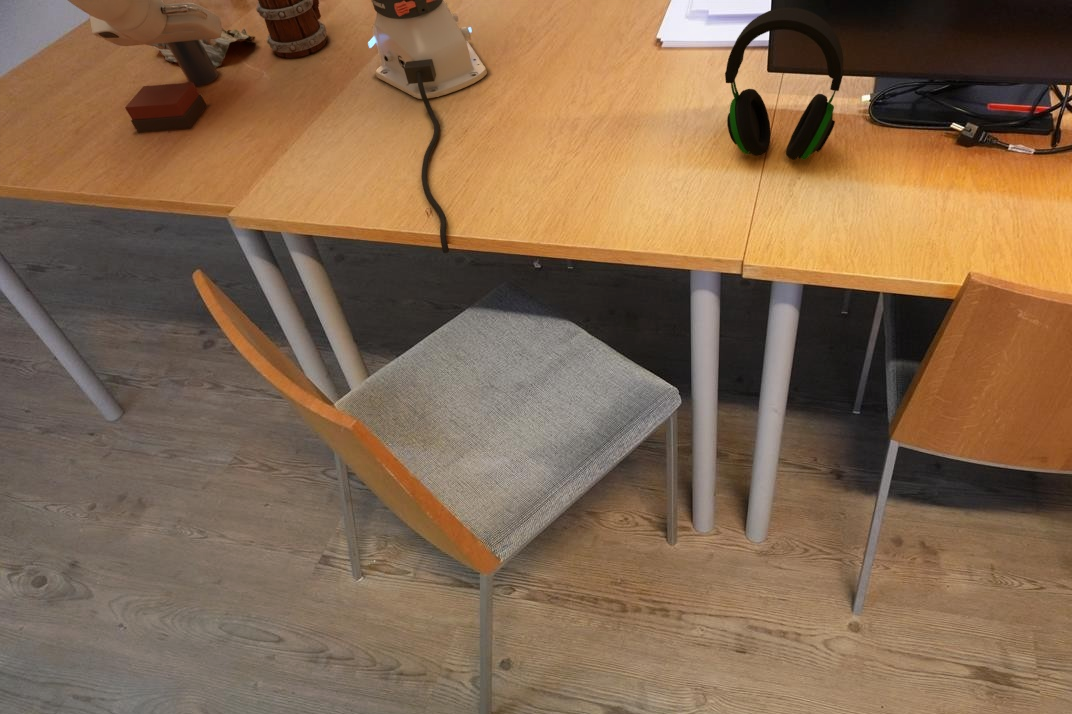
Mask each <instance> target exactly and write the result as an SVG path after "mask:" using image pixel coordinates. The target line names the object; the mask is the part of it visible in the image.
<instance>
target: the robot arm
mask: <svg viewBox="0 0 1072 714" xmlns="http://www.w3.org/2000/svg"><path fill="white" fill-rule="evenodd" d="M67 1H68V2H69V3H71V4H72V5H73V6H74V7H76V8H77V9H79V10H81V11H83V12H84V13H86V14H87V15H89V20H90V26H91V27H90V28H91V32H92V33H91V34H92V35H94V36H96V37H97V38H100V39H104V40H106V41H107V42H109V43H112V44H113V45H116V46H120V47H132V46H133V47H134V46H135V47H136V46H149V47H152V46H154V47H157V48H158V49H168V45H167V44H166V43H170V42H181V41H193V40H203V43H204V44H206V45H215V44H216V43H215V39H217V38H220V37H221V34H222V28H223V26H222V19H221V17H220V16H219V15H217V14H216V13H215V12H213V11H211V10H209V9H207V8H206V7H204V6H202V5H199V4H197V3H193V2H178V3H177V2H176V3H167V4H166V3H165V2H164V0H67ZM370 2H371V3H372V6H373V9H374V11H375V13H376V14H375V15H376V18H375V19H374V23H373V25H372V27H371V29H372V34H373V36H372V38H371V39H370V40H369V41H368V42H367V45H368V48H369V49H371V48H373V46H374V45H376V49H377V52H378V53H377V54H378V57H379V60H380V65H379V67H377V68H376V70H375V75H376V78H377V79H379V80H381V81H383V82H385V83H387V84H389V85H391V86H392V87H395V88H397V89H399V90H400V91H402V92H404V93H406V94H408V95H410V96H412V97H414V98H415V99H418V100H422V102H423V104H424V106H425V109H426V113H427V114H428V116H429V119H430V120H431V122H432V124H433V135H432V138H431V140H430V141H429V145H427V148H426V150H425V152H424V155H423V160H422V165H421V184H422V190H423V192H424V196H425V197H426V199H427V201H428V202H429V204H430V205H431V207H432V208H433V209H434V212H436V214H437V216H438V218H439V222H440V227H439V239H440V245H441V250H442V253H444V254H447V253H449V252H450V249H449V244H448V236H447V230H448V222H447V217H446V214H445V212H444V210H443V208H442V207H441V206H440V204H439V203H438V201H437V200H436V199H435V196H433V194H432V191H431V189H430V186H429V179H428V178H429V177H428V174H429V165H430V160H431V156H432V153H433V151H434V149H435V146H437V142H438V141H439V138H440V131H441V130H440V123H439V120H438V119H437V117H436V115H435V113H434V111H433V108H432V106H431V103H430V101H429V99H434V98H438V97H442V96H445V95H449V94H451V93H454V92H457V91H460V90H462V89H465V88H467V87H469V86H472V85H474V84H476V83H477V82H479V81H480V80H482V79H483V78H484V77H485V76H486V75H488V72H487V68H486V67H485V65H484V64H483V62H482V60H481V58H479V56H478V55H477V53H476V51H475V50H474V49H473V47H472V45H471V44H470V42H469V41H471V40H472V35H471V33H472V32H473V30H472V27H471V26H469V27H468V26H461V27H460V26H459V24H458V23H459V17H458V15H457V13H452V12H451V10H450V8H449V7H448V3H447V2H446V1H445V0H370ZM154 47H153V48H154ZM158 49H157V50H158Z"/></svg>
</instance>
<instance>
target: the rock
mask: <svg viewBox="0 0 1072 714" xmlns="http://www.w3.org/2000/svg"><path fill="white" fill-rule="evenodd" d="M200 41H201V43H202V45H203V46H204V48H205V50H206V52H207V54H208V56H209V57H210V59H211V61H212V63H213V65H214V67H215V68H216V69H218V68H219V67H221V66H222V65H223V64H222V62H223V61H224V59H225V57H226V54H227V52H228V49H229V46H230V44H231V43H234V42H238V41H239V42H244V41H245V42H246V43H256V36H253V35H248V33H247V31H246V29H245V28H243V29H242V30H241V31H239V30H237V29H232V30H231V29H228V30H225V29H224V28H223V27H222V34H221V37H220V38H217V39H215V43H216V44H215V45H206V44H204V43H203V40H200ZM151 47H152V48H155V49H156V50H158V51H160V53H161V54H162V55H163V56H164V59H165V60H166V61H168V62H170V63H173V62H174V63H177V64H178V62H177V61H176V59H175V57H174V56H173V54H172V52H171V50H170V49H169V47H168V49H158V48H157V47H154V46H151Z"/></svg>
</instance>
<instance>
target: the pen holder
mask: <svg viewBox="0 0 1072 714" xmlns="http://www.w3.org/2000/svg"><path fill="white" fill-rule="evenodd" d="M166 44H167V45H168V47H169V49H170V50H171V52H172V54H173V56H174V57H175V59H176V61H177V62H178V63H177V62H176V63H177V64H178V66H179V67H180V69H181V72H183V75H184V76H185V78H186V79H187V81H188V83H191V82H193V83H194V85H195V87H201V86H205V85H208V84H210V83H212V82H213V81H215V80H216V79H217V77H218V76H219V73H218V70H217V68H215V67H214V65H213V63H212V61H211V59H210V57H209V56H208V54H207V52H206V50H205V48H204V46H203V45H202V43H201V41H200V40H193V41H181V42H170V43H166Z"/></svg>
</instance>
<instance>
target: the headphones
mask: <svg viewBox="0 0 1072 714" xmlns="http://www.w3.org/2000/svg"><path fill="white" fill-rule="evenodd" d="M779 30H785V31H786V30H787V31H793V32H797V33H800V34H803V35H804V36H806V37H808V38H809V39H811V40H812V41H813V42H814V43H816V45H817V46H818V47H819V48H820V50H821V51H822V53H823V56H824V59H825V61H826V68H827V75H828V77H829V78H830V79H831V84H830V87H829V88H830V89H829V90H830V91H833V93H832V95H831V96H830V99H829V100H828V96H827V95H825V94H823V93H817V94H816V95H814V96H813V97H812V99H810V101H809V103H808V104H807V107H806V108H805V110H804V111H803V113H802V115H801V117H800V118H799V120H798V122H797V123H796V126H795V128H794V130H793V132H792V134H791V136H790V139H789V141H788V144H787V147H786V149H785V155H786V157H787V158H788V159H790V160H793V161H794V160H797V159H801V160H807V159H808V158H809V157H810V156H811V155H812V154H814V153H819V152H820V151H821V150H822V149H823V147H824V146H825V144H826V142H827V141H828V139H829V137H830V135H831V133H832V131H833V129H834V127H835V123H836V121H835V120H833V119H834V118H833V117H834V109H835V106H834V104H832V102H833V100H834V97H835V94H836V92H839V91H840V88H841V84H842V82H843V76H844V73H845V70H844V54H843V48H842V45H841V42H840V39H839V37H838V36H837V34H836V32H835V31H834V29H833V28H832V27H831V26H830V25H829V23H828V22H827V21H825V20H824V19H823V18H822V17H821V16H819V15H818V14H816V13H814V12H812V11H810V10H807V9H804V8H800V7H792V6H791V7H787V6H785V7H778V8H774V9H770V10H768V11H766V12H763V13H762V14H760V15H758V16H757V17H755V18H754V19H752V20H751V21H750V22H748V24H747V25H746V26H744V28H743V29H742V31H741V32H740V33H739V35H738V37H737V38H736V40H735V43H734V44H733V46H732V49H731V51H730V52H729V55H728V58H727V62H726V69H725V72H724V78H725V79H724V80H725V83H726V84H730V88H731V92H732V96H733V99H732V100H731V102H730V105H729V113H728V114H727V118H726V119H727V120H726V122H727V124H726V125H727V129H728V134H729V137H730V139H731V141H732V142H733V143H734V145H736V146H737V148H738V150H739V151H740V152H741V153H742V154H745V155H752V156H754V157H759V156H760V157H761V156H763V155H765V154H766V153H767V152H768V151H769V149H770V145H771V139H772V138H771V137H772V136H771V134H772V131H771V123H770V118H769V117H770V116H769V113H768V110H767V106H766V104H765V101H764V99H763V98H762V96H761V94H759V92H758V91H757V90H756V89H754V88H746V89H744V90H741V92H740V93H739V90H738V88H737V84H736V78H737V77H738V74H739V70H740V67H741V65H742V63H743V61H744V57H745V55H744V54H745V53H746V52H745V51H746V49H747V47H749V45H750V44H751V43H752V42H753V41H754V40H756V38H758V37H760V36H762V35H764V34H767V33H769V32H772V31H779Z"/></svg>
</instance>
